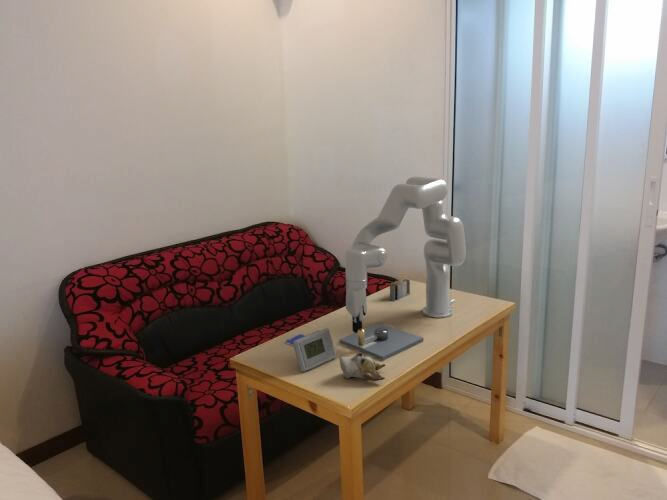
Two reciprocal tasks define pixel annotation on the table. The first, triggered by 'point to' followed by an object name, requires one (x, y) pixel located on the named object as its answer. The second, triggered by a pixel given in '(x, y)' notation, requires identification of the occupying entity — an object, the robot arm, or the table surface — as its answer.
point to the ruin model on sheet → (399, 289)
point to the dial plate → (383, 342)
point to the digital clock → (314, 349)
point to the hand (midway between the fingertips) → (357, 331)
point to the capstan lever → (378, 335)
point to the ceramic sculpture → (360, 367)
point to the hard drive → (293, 339)
